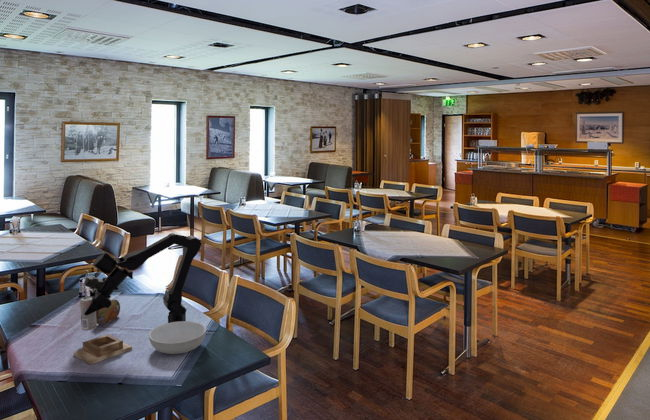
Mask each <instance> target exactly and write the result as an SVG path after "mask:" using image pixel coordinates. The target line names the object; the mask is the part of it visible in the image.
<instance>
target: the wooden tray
mask: <svg viewBox="0 0 650 420" xmlns="http://www.w3.org/2000/svg"><path fill="white" fill-rule="evenodd" d="M132 350H133V346H132V345H130V344H127V343H125V342H124V340H122V339H120V338H118V337H115V336H113V335H112V334H109V333H106V334H105V335H101V336H97V337H95V338H92V339H90V340H86V341H83V342H82V349H79V350H75V351H73V356H74V355H75V356H74V357H76V358H78V359H80V360H82V361H83V360H84V361H83V362H84V363H87V364H89V365H93V364H96V363H99V362H101V361H104V359H105V360H108V359H110V358H114V357H115V356H119V355H121V354H123V353H126V351H127V352H130V351H132Z"/></svg>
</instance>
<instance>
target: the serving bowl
mask: <svg viewBox="0 0 650 420" xmlns="http://www.w3.org/2000/svg"><path fill="white" fill-rule="evenodd" d="M206 334H207V327H206V326H205V325H203V324H201V323H200V322H196V321H187V320H186V321H179V322H171V323H168V322H167V323H165V324H161V325H159V326H158V325H157V326H156V327H154V328H153V329H151V331H149V333H148V339H149V342H150V344H151V346H152V347H153V348H154V349H155V350H157V351H158V352H160V353H162V354H168V355H169V354H170V355H176V354H177V355H178V354H185V353H188V352H191V351H192V350H195V349H197V348H198V347H199V346H200V345H201V344H202V343H203V342H204V340H205V338H206V336H207V335H206Z"/></svg>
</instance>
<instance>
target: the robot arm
mask: <svg viewBox="0 0 650 420" xmlns="http://www.w3.org/2000/svg"><path fill="white" fill-rule="evenodd" d="M173 245H177V246H181V247H182V256H181V259H180V262H179V264H178V268H177V271H176V274H175V277H174V280H173V283H172V286H171V287H170V288H169V289H168V290H167V289H165V292H164V295H163V297H162V300H163V305H164V306H165V307H166V309H167V310H168V311H169V312H168V314H167V323H171V322H179V321H187V320H186V318H187V317H186V312H187V308H186V307H185V306H184V305H183V303H182V300H183V289H184V286H185V283H186V281H187V278H188V275H189V271H190V268H191V266H192V264H193V263H192V262H193V260H194V258H195V257H196V256H197V255H198V253H199V252H200V249H201V248H202V242H201V240H200V239H199V238H197V237H196V236H194V235H188V236H187V235H182V234H178V233H174V232H171V233H168V234H167V235H166V236H164V237H163V238H161V239H158V240H157V241H155V242H153V243H151V244H149V245H148V246H146V247H144V248H141V249H139V250H134V251H132V252H129V253H126V254H125V255H123V256H121V257H117V258H114V257H112V256H111V255H110V254H109V253H108V252H107V251H104V253H102V254H101V255H99V256H97V257H96V258H95V260H94V261H93V262H92V267H94V268H96V270H98V271H100V272H101V273H103V274H104V275H105V274H107V275H108V276H107V277H106V276H104V277H102V278H98V277H94V276H92V275H87V276H86V277H85V279H84V282H83V284H84V287H87V288H89V290H88V291H89V293H88V294H89V296H92V303H91V304H90V306H89V307H88V309H87V310H86V312H85V313H84V314H85V315H86V316H87V315H89V314H91V313H93V312H95V311H97V310H100V309H102V308H105V307H106V308H109V307H110V306H111V305H112V304H111V300H112V299H111V298H112V296H111V295H112V294H113V293H114V292H115V291H117V290H119V286H121V284H122V283H123V282H124V281H125V280H126V279H127V278H130V279H131V280H133V279H134V277H133V273H134V272H133V271H136V270H137V269H139V268H140V267H141V266H142V265H143V264H144V263H146V262H147V261H148V259H150V258H152V257H153V256H156V255H158V254H159V253H161V252H162V251H164V250H166V249H168V248H170V247H171V246H173Z"/></svg>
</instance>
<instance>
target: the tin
mask: <svg viewBox="0 0 650 420" xmlns="http://www.w3.org/2000/svg"><path fill="white" fill-rule="evenodd" d="M110 300H111V304H112V305H111V306H110V307H109V308H106V307H105V308H102V309H100V310H97V311H96V321H97V325H101V326H104V325H107V324H108V323H110V322H111V321H113V320H115V319H117V318H118V316H119V315H120V311H121V304H120V302H119V300H117V299H110ZM106 323H107V324H106Z"/></svg>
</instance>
